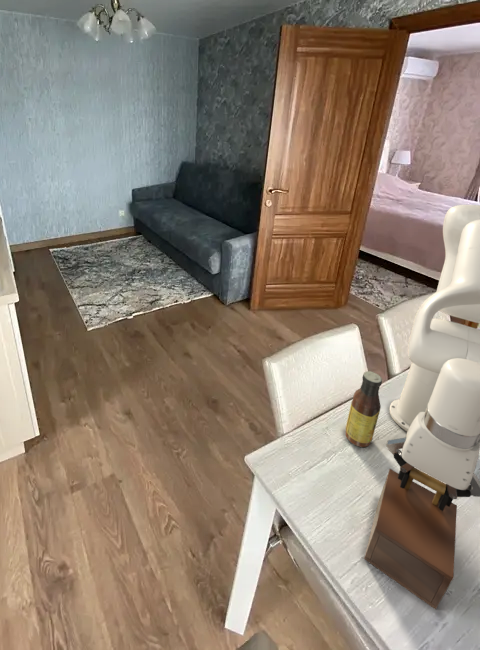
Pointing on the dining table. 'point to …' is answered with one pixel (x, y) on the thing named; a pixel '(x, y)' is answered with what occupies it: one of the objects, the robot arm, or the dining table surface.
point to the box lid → (419, 520)
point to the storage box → (405, 567)
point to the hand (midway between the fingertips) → (421, 492)
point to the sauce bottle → (364, 411)
